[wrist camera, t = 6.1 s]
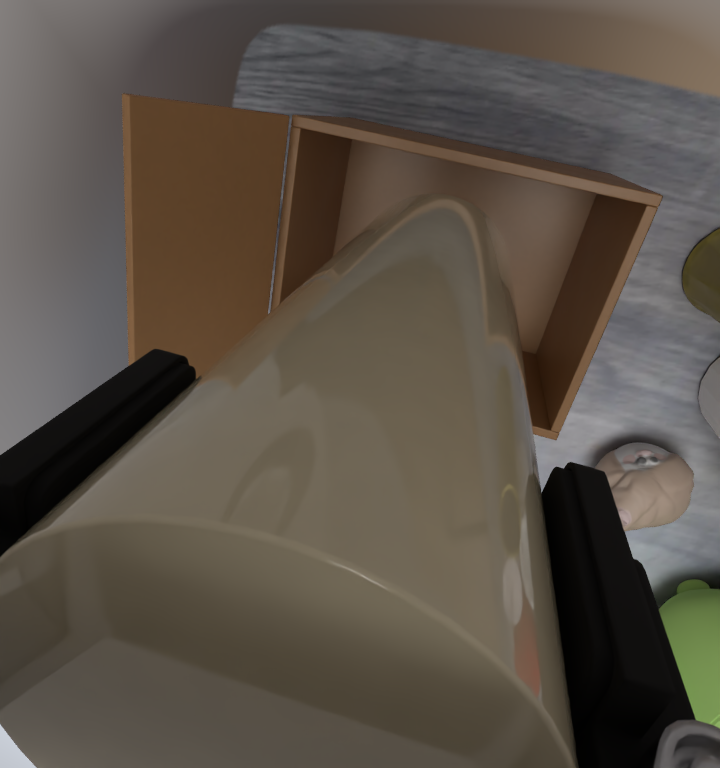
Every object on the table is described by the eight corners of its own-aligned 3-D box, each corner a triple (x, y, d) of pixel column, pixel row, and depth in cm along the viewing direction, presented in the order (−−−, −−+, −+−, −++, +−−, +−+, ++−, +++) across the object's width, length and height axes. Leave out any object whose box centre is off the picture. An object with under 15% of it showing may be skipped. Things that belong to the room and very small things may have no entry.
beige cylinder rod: (325, 258, 23) (-126, 651, 6) (449, 156, 20) (243, 371, 3) (414, 371, 24) (248, 937, 8) (541, 291, 21) (723, 911, 5)
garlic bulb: (607, 416, 40) (632, 479, 33) (694, 442, 39) (738, 511, 32) (572, 484, 43) (588, 554, 36) (652, 508, 42) (683, 585, 35)
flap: (262, 365, 30) (257, 363, 30) (289, 115, 24) (283, 114, 24) (135, 419, 24) (129, 415, 24) (129, 95, 18) (121, 92, 18)
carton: (320, 302, 41) (264, 360, 31) (349, 117, 35) (291, 114, 25) (539, 359, 39) (556, 440, 29) (611, 173, 33) (663, 195, 23)
